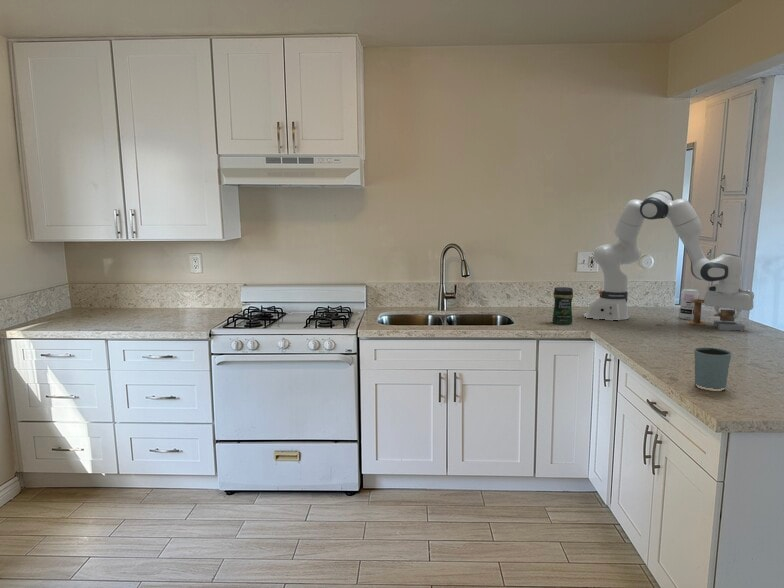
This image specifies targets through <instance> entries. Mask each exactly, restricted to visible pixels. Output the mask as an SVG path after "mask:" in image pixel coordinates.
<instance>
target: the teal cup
mask: <svg viewBox="0 0 784 588" xmlns="http://www.w3.org/2000/svg"><path fill="white" fill-rule="evenodd" d="M693 350H694V385H695V384H697V385H699V386H702V387H706V388H713V389H721V388H725V387H726V388H727V384H728V380H727V379H728V373H729V367H730V362H731V358H732V352H731V351H729V350H726V349H723V348H715V347H697V348H695V349H693Z"/></svg>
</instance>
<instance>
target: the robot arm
mask: <svg viewBox="0 0 784 588" xmlns="http://www.w3.org/2000/svg"><path fill="white" fill-rule="evenodd" d="M665 218H667V219H669V222H670V223H671V225H672V228H673V229H674V231H675V233H676V234H677V236H678V238H679V239H680V241H681V242H682V244H683V247H684V248H685V251H686V252H687V255H688V258H689V260H690V272H691V274H692V276H693V277H694V278H695V279H697V280H702V281H704V282H717V281H718V283H716V284H713V285H710V286H709V285H708V286H707V287H706V292H705V293H704V298H703V300H704V303H703V304H704V306H706V307H714V311H715V312H716V314H719V315H720V312H721V311H720V310H719V309H720V308H723V309H730V310H735V314H734V315H733V318H734V320H735V319H738V318H739V316H740V314H741V312H742V311H751V310H753V309H754V299H755V293H754V292H753V291H751V290H750V289H742V288H741V286H742V285H741V284H742V280H741V276H742V269H743V268H742V267H743V264H742V258H741V257H740V256H739V255H736V254H733V253H732V254H731V253H722V254H721V255H720V256H717V257H716V258H715V257H714V258H713V259H708V258H707V257H706V256H705V253H704V251H703V249H702V247H701V244H700V242H699V241H700V240H699V239H700V235H702V231H703V227H702V223H701V220H700V217H699V216H698V214H697V211H696V210H695V209H694V207H693V206H692V204H691V203H690V202H689V200H688V199H685V198H677V199H674V195H673V194H672V193H671V192H670V191H668V190H665V189H663V190H661V189H660V190H657V191H654V192H653V193H651V194H650V195H648V197H646V198H645V199H644V200H641V199H630V200H628V202H627V204H625V206H624V208H623V210H622V212H621V214H620V215H619V218H618V221H617V223H616V226H615V228H614V234H615V236H616V237H617V238H618V241H617V243H606V244H601V245H599V246H597V247H595V249H594V250H593V254H592V257H593V259H594V262H595V263H596V264H598V266H599V267H600V268H601V271H602V273H603V277H604V278H603V282H604V283H603V284H604V285H603V287H604V288H603V289H604V290H601V289H600V290H599V291H598V294H599V297H598V298H597V299H596V300H594V301H593V302H591V303H590V304H589V305H588V309H587V311H586V312H584V313H583V315H584V316H583V318H585V317H586V318H585V319H587V318H593V319H592V320H599V319H605V320H604V321H613V320H618V321H622V320H627V319H630V316H629V311H628V299H629V297H628V296H629V293H628V276H627V274H626V273H624V272H622V270H621V268H620V265H622V266H623V265H630V264H633V263H636V262H638V261H639V260H640V257H641V249H640V247H639V246H638V244H637V240H638V235H639V233H640V231H641V228H642V226H643V223H644V221H645V220H650V221H651V220H660V219H661V220H663V219H665ZM718 317H719V318H720V316H718Z"/></svg>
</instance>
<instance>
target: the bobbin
mask: <svg viewBox="0 0 784 588" xmlns="http://www.w3.org/2000/svg"><path fill="white" fill-rule="evenodd" d="M691 302H693V303H695V304H694V319H693V320H688V324H689V325H692V326H700V327H701V326H705V325H706V322H705V321H701V320H702V319H701V318H702V304H704V299H701V298H699V299H691Z"/></svg>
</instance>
